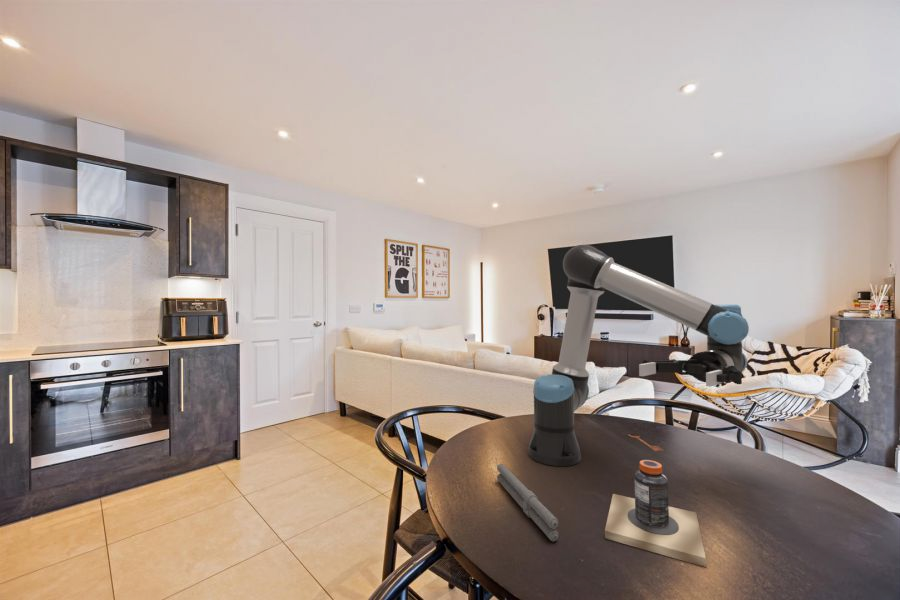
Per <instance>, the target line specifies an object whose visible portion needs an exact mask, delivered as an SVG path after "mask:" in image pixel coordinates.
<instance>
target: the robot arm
mask: <svg viewBox="0 0 900 600" xmlns="http://www.w3.org/2000/svg"><path fill="white" fill-rule="evenodd" d="M562 268H563V272H564V273H565V275H566V276H567V278H568V280H567V284H566V288H567V289H568V291H569V292H570V297H569V300H568V306H567V312H566V313H567V314H566V319H565V323H564V329H563V335H562V336H563V337H562V341H561V346H560V347H561V348H560V352H559V359H558V362H557V363H556V364H555V365H553V366H552V371H551V374H547V375H542V376H541V375H540V376H538V377H537V378H536V379H535V380H534V383H533V391H532V392H533V419H534V420H533V421H534V422H533V423H534V425H533V427H534V429H533V432H532V435H531V438H530V440H529V444H528V455H530V456H529V457H530V458H531V459H532V460H534V461H536V462H538V463H540V464H544V465H549V466H555V467H569V466H574V465H576V464H579V463H580V462H581V460H582V456H581V453H582V452H581V449H580V445H579V442H578V439H577V435H576V433H575V411H577V410H578V409H580V408H581V407H582V406H583V405H584V404H585V403H586V401H587V400H588V398H589V394H590V390H589V389H590V387H589V385H588V383H589V378H590V374H589V372H588V370H587V369H586V365H587V360H588V356H589V355H588V354H589V349H590V344H591V343H590V342H591V338H592V332H593V327H594V323H595V316H596V312H597V305H598V300H599V297H600V296H602V295H603V294H604V293H605V290H607V291H609V292H611V293H614V294H615V295H617V296H620V297H622V298H625V299H627V300H629V301H631V302H633V303H635V304H638V305H640V306H642V307H643V308H647V309H649V310H651V311H654V312H656V313H657V314H659V315H662V316H664V317H665V318H668V319H670V320H672V321H675V322H677V323H679V324H681V325H683V326H686V327H688V328H690V329H692V330H694V331H696V332H698V333H700V334H702V335H704V336H707V337H706V339H707V340H706V341H707V342H706V347H707V348H706V349H707V350H705V351H700V352H696V353H694V354H693V355H691V356H690V358H689V359H686V360H685V359H684V360H682V359H681V360H679V359H678V360H677V359H674V358H673V359H665V360H664V359H663V360H661V359H659V360H658V359H657V360H642V363H640V364H638V374H639V375H638V376H639V377H646V376H654V375H656V374H657V373H667V374H668V373H669V374H670V373H672V374H673V373H676V374H678V375H681V376H690V377H693V378H694V379H695V380H696V381H699V382H702V383H705V386H706V387H709V388H711V387H714V386H717V385H721V384H723V383H725V384H731V382H732V383H734V384H736V385H742V383H743V382H742V379H743V377H742V374H743V373H742V372H744V371H745V370H746V369H747V366H748V359H747V357H746V355H745V353H743V343H742V342H743V341H744V340H745V339H746V337H748V334H749V331H750V327H749V323H748V320H747V319H746V318H745V317H744V316H743V314H742V308H741V306H740V305H738V304H713V303H711V302H709V301H707V300H704V299H702V298H700V297H697V296H696V295H695V296H694V295H692V294H689V293H688V292H685V291H683V290H680V289H679V288H676V287H673V286H670V285H668V284H666V283H665V282H661V281H659V280H656V279H654V278H652V277H649V276H648V275H644V274H643V273H639V272H638V271H635V270H633V269H631V268H628V267H626V266H623V265H621V264H618V263H616V262H615V259H614V258H613V257H611V256H609V255H607V254H606V253H604V252H603V251H602V250H599V249H597V248H596V247H594V246H592V245H589V244H579V245H576V246H572V247H571V248H570V249H569V250H568V251H567V252H566V253H565V255H564V258H563V260H562Z"/></svg>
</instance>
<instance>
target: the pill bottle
mask: <svg viewBox="0 0 900 600" xmlns="http://www.w3.org/2000/svg"><path fill="white" fill-rule="evenodd" d="M634 499H635V515H636V517H637V519H638V520H639V521H641V522H642V523H644V524H646V525H649V526H653V527H665V526H667V525H668V524H669V507H668V506H669V481H668V478H667V477H666V475H664V474H663V465H662V464H661V463H660V462H657V461H655V460H650V459H643V460H642V459H641V460H640V461H639V469H638V470H635V473H634Z"/></svg>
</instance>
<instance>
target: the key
mask: <svg viewBox="0 0 900 600" xmlns="http://www.w3.org/2000/svg"><path fill="white" fill-rule="evenodd" d="M627 436H628V437H629V438H633V439H636V440H638V441H639V442H641V443H642V444H644V445H646V447H648V448H649V449H651V450H652V451H654V452H659V451H660V452H661V451H663V452H664V449H663V448H661V447H660V446H658V445H650V444H649V443H647V442H646V441H644V439H642V438H640V437H641V436H640V435H638V434H636V433H628V435H627Z"/></svg>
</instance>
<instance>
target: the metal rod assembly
mask: <svg viewBox="0 0 900 600" xmlns="http://www.w3.org/2000/svg"><path fill="white" fill-rule="evenodd" d="M496 470H497V471H498V472H499V474H498V475H496V478H497V481H498V483H500V485H501V486H502V487H503V488H504V489H505V490H506V492H507V493H509V495H510V496H511V497H512V498H513V499H514V501H515V502H516V503H517V504H518V505H519V506H520V507H521V509H522V511H523V513H524V514H525V515H526V516H527V518H529V519H531V520H532V521H533V522H534V523H535V524H536V525H537V527H538V528H539V529H540V530H541V531H542V532H543V533H544V534H545V536H546V537H547V538H548V539H549V540H550V541H551V542H556V541H557V540H558V538H559V532H558V530H556V528H557V527H558V526H559V520H558V518H557V517H556V516H554V514H553V513H552V512H551V511H550V510H549V509H548V508H547V507H546V506H544V505H543V503H542V502H541V501H540V500H539V498H538V496H537V495H536V494H535V493H534V492H533V491H532V490H529V489H528V487H526V486H525V484H523V483H522V482H521V480H519V479H518V478H517V477H516V475H515V474H514V473H513V472H512V471H510V469H508V468H507V467H506V466H505V465H504V464H503V463H499V464H497V466H496Z"/></svg>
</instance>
